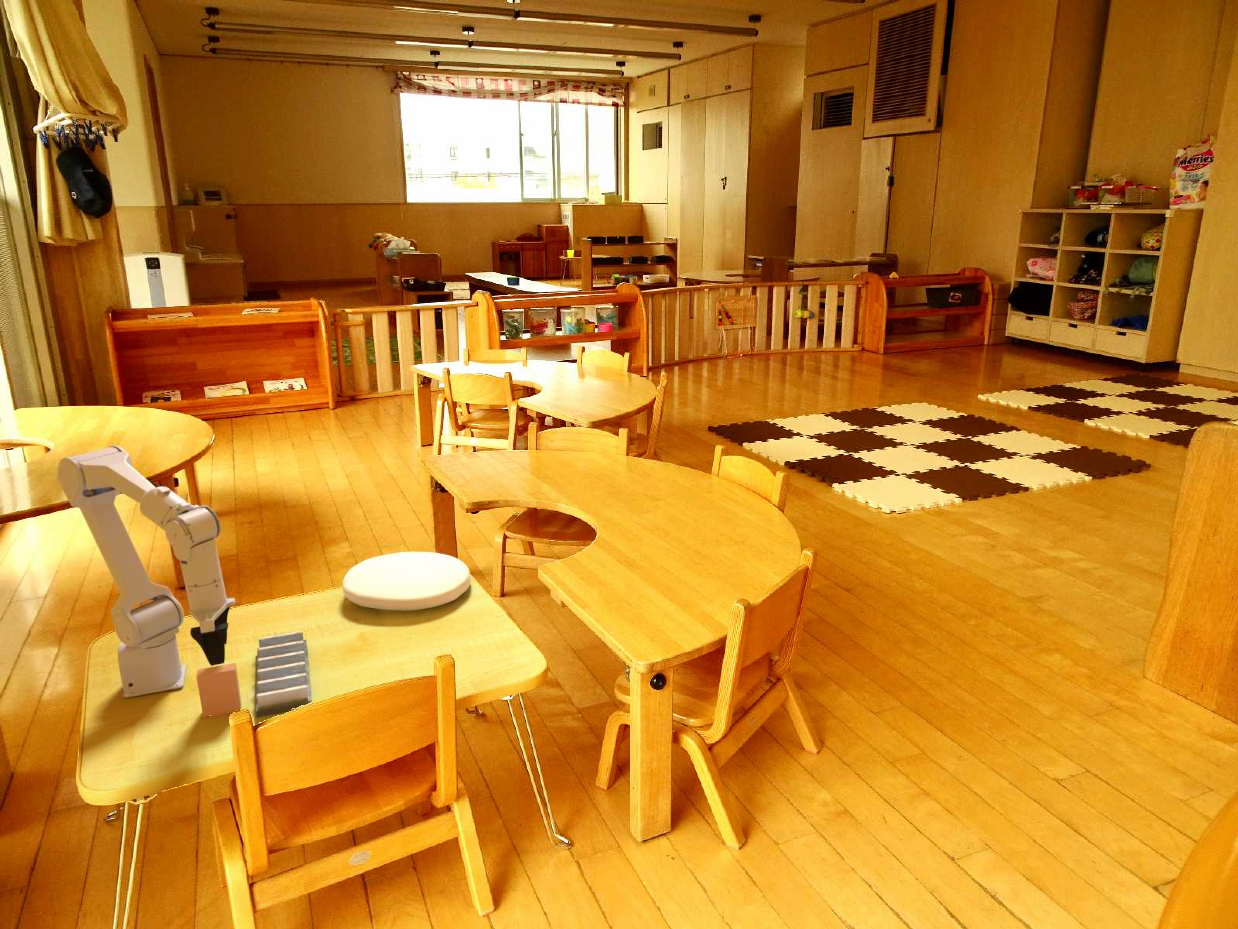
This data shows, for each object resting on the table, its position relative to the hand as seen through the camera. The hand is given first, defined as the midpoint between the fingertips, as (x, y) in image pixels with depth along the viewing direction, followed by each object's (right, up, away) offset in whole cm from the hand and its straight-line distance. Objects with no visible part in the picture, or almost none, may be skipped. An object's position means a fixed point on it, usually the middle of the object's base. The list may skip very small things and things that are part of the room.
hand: (218, 654), depth 145 cm
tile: (-1, -10, +3) cm, 11 cm away
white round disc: (+21, +3, +48) cm, 52 cm away
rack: (+6, -7, +12) cm, 16 cm away
